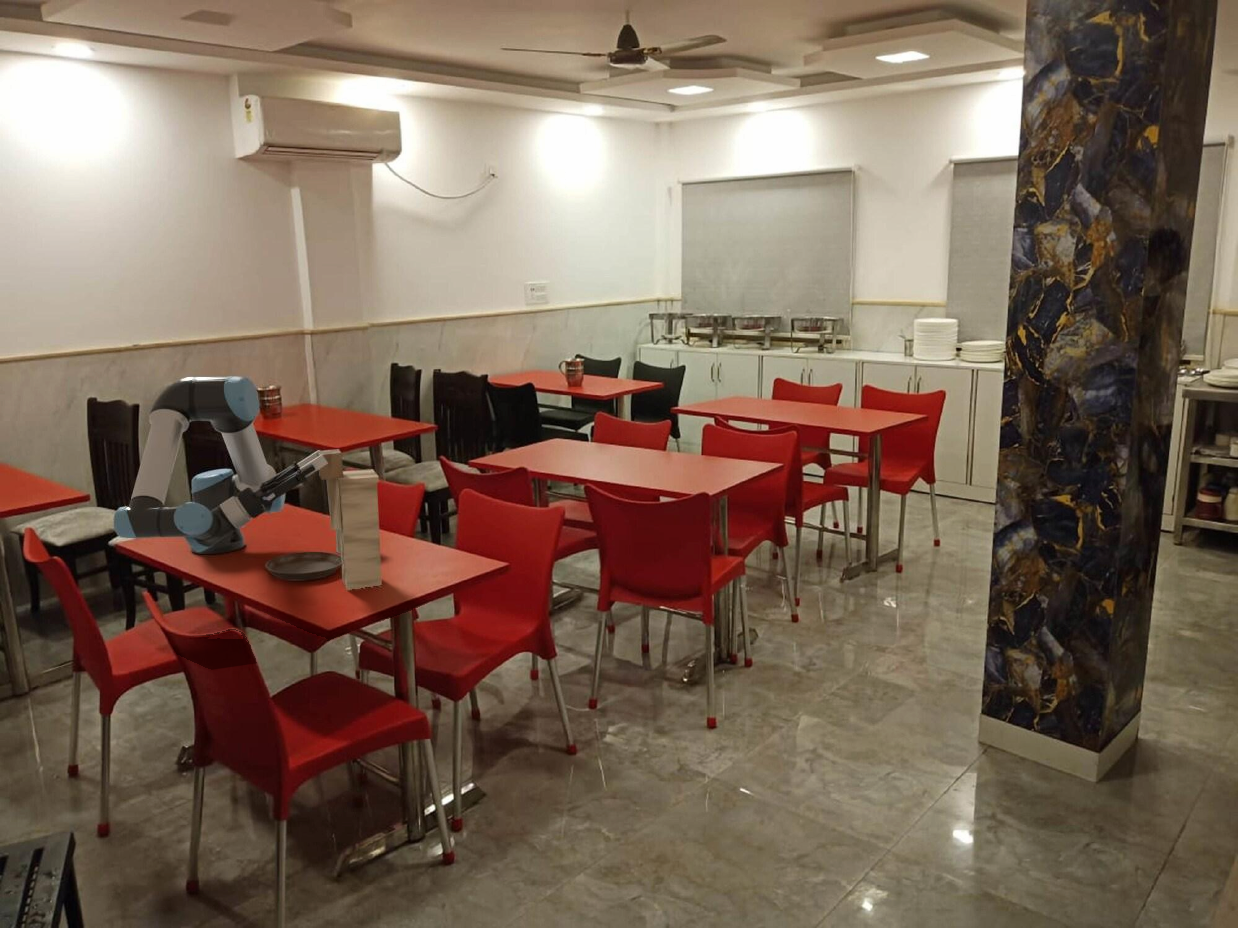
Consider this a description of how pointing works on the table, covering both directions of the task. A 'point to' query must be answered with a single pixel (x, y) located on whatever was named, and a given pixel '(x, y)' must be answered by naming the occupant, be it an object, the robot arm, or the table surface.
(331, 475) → the mallet
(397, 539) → the table surface
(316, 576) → the plant saucer
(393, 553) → the table surface
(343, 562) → the stand
